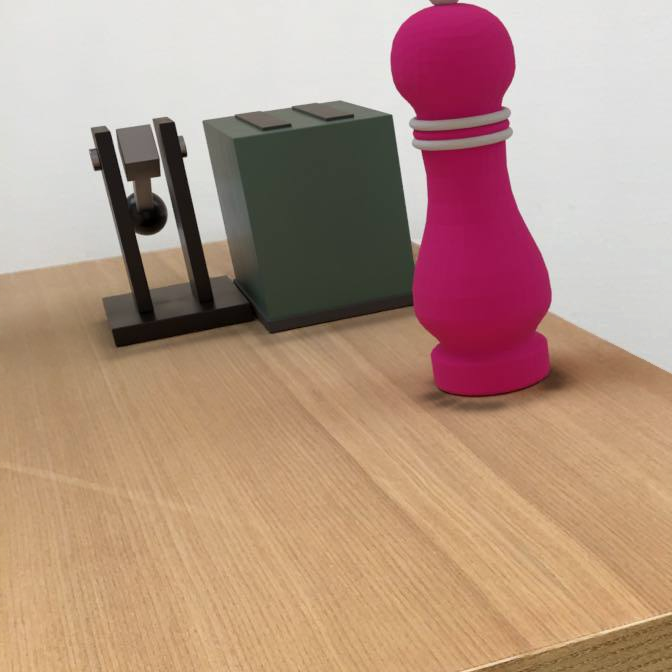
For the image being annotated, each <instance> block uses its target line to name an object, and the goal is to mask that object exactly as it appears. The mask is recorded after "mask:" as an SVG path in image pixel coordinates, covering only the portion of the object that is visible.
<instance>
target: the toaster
mask: <svg viewBox="0 0 672 672" xmlns="http://www.w3.org/2000/svg"><path fill="white" fill-rule="evenodd" d="M201 123H202V128H203V131H204V136H205V137H204V138H205V140H206V142H205V143H206V144H207V145H206V146H207V151H208V156H209V160H210V165H211V169H212V174H213V179H214V183H215V189H216V193H217V198H218V202H219V208H220V212H221V217H222V222H223V226H224V230H225V235H226V241H227V246H228V251H229V255H230V259H231V264H232V269H233V273H234V274H233V275H234V277H235V278H233V279H232V282H233V283H234V284H235V285H236V286H237V288H238V289H239V290H240V291H241V293H242V294H243V295H244V296H245V297H246V299H247V300H248V301H249V302H250V304H251V309H252V313H253V315H255V316H256V318H257V319H258V320H259V321H260V323H261V324H262V325H263V327H264V328H265V329H266V330H267V331H268V333H269V334H272V333H278V332H283V331H288V330H293V329H298V328H303V327H307V326H313V325H318V324H323V323H327V322H334V321H338V320H343V319H348V318H352V317H358V316H362V315H367V314H373V313H379V312H382V311H388V310H393V309H398V308H403V307H408V306H414V302H413V280H414V271H415V265H416V263H415V258H414V250H413V244H412V238H411V231H410V224H409V217H408V210H407V204H406V196H405V190H404V189H405V188H404V183H403V176H402V169H401V164H400V163H401V162H400V156H399V150H398V149H399V148H398V143H397V135H396V129H395V123H394V115H393V114H392V113H388V112H384V111H380V110H377V109H373V108H370V107H366V106H363V105H359V104H355V103H351V102H348V101H344V100H333V101H326V102H311V103H304V104H298V105H297V104H296V105H292V106H291V107H284V108H278V109H271V110H265V111H263V110H257V111H250V112H243V113H236V114H235V113H234V115H229V116H223V117H216V118H210V119H209V118H208V119H203V120H202V121H201Z"/></svg>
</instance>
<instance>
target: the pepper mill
mask: <svg viewBox="0 0 672 672" xmlns="http://www.w3.org/2000/svg"><path fill="white" fill-rule="evenodd" d="M428 1H429V2H430V3H431V4H432V5H431V6H429V7H428V6H427V7H424V8H422V9H420V10H418V11H417V12H415V13H413V14H411V15H410V16H409V17H408V18H407V19H405V20H404V21H403V22H402V23H401V25H400V26H399V28H398V30H397V31H396V33H395V35H394V37H393V40H392V41H391V42H392V43H391V50H390V56H389V57H390V59H389V60H390V61H389V62H390V72H391V76H392V82H393V85H394V87H395V89H396V91H397V92H398V93H399V95H400V97H402V98H403V99H404V100H405V101H406V102H407V103H408V104H409V105H410V106H411V108H412V109H413V111H414V113H415V116H414V117H413V116H412V118H410V119H409V121H408V126H409V128H411V129H412V136H413V138H412V140H411V145H412V147H413V148H414V149H417V150H419V151H420V152H421V157H422V158H421V159H422V162H423V166H424V171H425V179H426V193H427V204H426V206H427V207H426V216H425V224H424V228H423V233H422V237H421V241H420V246H419V249H418V254H417V256H416V257H417V258H416V262H415V271H414V280H413V302H414V305H413V311H414V315H415V317H416V319H417V321H418V322H419V324H420V325H421V326H422V327H423V328H424V330H426V331H427V332H428V333H429V334H430V335H431V336H432V337H434V338H435V339H436V340H437V342H439V343H438V344H436V345H435V346H434V347H433V348H432V349H431V352H430V360H431V361H430V362H431V367H432V368H431V369H432V375H433V381H434V384H435V386H436V387H437V388H439V389H440V390H441V391H444V392H446V393H449V394H453V395H460V396H492V395H499V394H505V393H510V392H515V391H519V390H522V389H525V388H529V387H531V386H532V385H535V384H537V383H539V382H541V381H542V380H543V379H544V378H546V377H547V376H548V375H549V374H550V371H551V362H550V360H551V359H550V353H549V352H550V351H549V344H548V342H549V341H548V338H547V337H546V336H545V335H544V334H543V333H541V332H539V331H537V329H538V327H539V326H540V325H541V322H542V321H543V319H544V318H545V316H547V313H548V312H549V310H550V308H551V304H552V302H553V301H552V300H553V299H552V298H553V292H552V286H551V285H552V284H551V280H550V274H549V270H548V268H547V265H546V262H545V260H544V257H543V255H542V252H541V250H540V248H539V247H538V244H537V242H536V241H535V238H534V237H533V235H532V233H531V231H530V229H529V227H528V226H527V224H526V221H525V220H524V218H523V216H522V214H521V211H520V209H519V207H518V204H517V201H516V198H515V195H514V192H513V189H512V183H511V180H510V179H511V178H510V174H509V170H508V161H507V159H508V157H507V140H508V139H510V138H511V137H512V136H513V134H514V129H513V128H512V127H511V126H510V125H511V121H510V120H509V118H510V117H511V115H512V110H511V108H509V107H507V106H503V100H504V97H505V94H506V93H507V91H508V89H509V88H510V86H511V84H512V83H513V80H514V77H515V74H516V68H517V64H516V54H515V47H514V43H513V40H512V37H511V35H510V33H509V30H508V29H507V27H506V26H505V25H504V23H503V22H502V20H501V19H500V18H499V17H498V16H497V15H495V14H494V13H493V12H491V11H489V10H488V9H486V8H485V7H481V6H479V5H476V4H472V3H467V2H459V1H460V0H428Z"/></svg>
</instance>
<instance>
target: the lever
mask: <svg viewBox="0 0 672 672" xmlns="http://www.w3.org/2000/svg"><path fill="white" fill-rule="evenodd" d="M115 135H116V142H117V143H116V144H117V149H118V152H119V155H120V160H121V164H122V168H123V171H124V175H125V179H126V182H127V183H128V182H132V190H133V192H132V193H131V194H129V195H128V196H126V197H127V201H128V205H129V209H130V213H131V217H132V221H133V225H134V230H135V234H136V235H139V236H146V237H147V236H154V235H156V234H158V233H160V232H161V231H162V230H163V229H164V228H165V226H166V224H167V222H168V218H169V212H168V208H167V204H166V203H165V201H164V199H162V197H161V196H160V195H158V194H156V193H155V192H153V188H152V179H154V178H160V177H161V176H162V173H161V172H162V171H161V159H160V158H161V157H160V153H159V149H158V147H157V143H156V140H155V136H154V133H153V129H152V125H151V124H150V123H148V124H141V125H140V124H139V125H135V126H128V127H120V128H116V129H115Z"/></svg>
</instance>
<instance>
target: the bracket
mask: <svg viewBox="0 0 672 672" xmlns="http://www.w3.org/2000/svg"><path fill="white" fill-rule="evenodd" d="M152 125H153V128H154V129H153V130H154V133H155V137H156V142H157V146H158V152H159V156H160V158H161V159H160V160H161V163H162V168H163V172H164V176H165V181H166V185H167V190H168V194H169V198H170V202H171V203H170V204H171V207H172V212H173V216H174V221H175V224H176V229H177V233H178V239H179V243H180V247H181V252H182V255H183V261H184V264H185V269H186V272H187V278H188V281H187V282H182V283H177V284H171V285H166V286H161V287H160V286H159V287H154V288H150V287H149V283H148V279H147V275H146V272H145V267H144V263H143V259H142V255H141V254H142V253H141V250H140V246H139V243H138V238H137V233H135V230H134V225H133V221H132V217H131V213H130V209H129V205H128V201H127V197H128V196H127V192H126V189H125V185H124V181H123V177H122V172H121V168H120V164H119V159H118V156H117V152H116V147H115V144H114V140H113V135H112V132H111V130H110V129H109V128H108V127H107V125H100V126H92V127H90V132H91V136H92V141H93V144H94V147H93V148H89V149H88V153H89V158H90V161H91V165H92V170H93V171H94V172H100V173H101V176H102V181H103V184H104V187H105V188H104V189H105V192H106V196H107V201H108V205H109V208H110V211H111V216H112V220H113V225H114V228H115V232H116V236H117V240H118V244H119V249H120V252H121V256H122V260H123V264H124V269H125V272H126V276H127V280H128V283H129V288H130V292H127V293H123V294H118V295H112V296H111V295H110V296H106V297H102V298H101V301H102V305H103V309H104V313H105V316H106V318H107V322H108V325H109V329H110V332H111V335H112V339H113V342H114V345H115V347H118V348H119V347H123V346H128V345H132V344H138V343H143V342H148V341H154V340H157V339H158V340H159V339H163V338H168V337H174V336H179V335H184V334H188V333H194V332H199V331H204V330H209V329H214V328H220V327H225V326H231V325H235V324H240V323H246V322H251V321H254V313H253V311H252V309H251V304H250V302H249V301H248V300H247V299H246V297H245V296H244V295H243V294H242V293H241V291H240V290H239V289H238V288H237V286H236V285H235V284H234V283H233V279H231V278H230V277H229V275H228V274H226V275H220V276H214V277H210V276H209V270H208V265H207V261H206V256H205V252H204V248H203V243H202V239H201V234H200V229H199V224H198V221H197V216H196V215H197V214H196V212H195V207H194V201H193V198H192V193H191V189H190V184H189V179H188V175H187V171H186V170H187V169H186V166H185V161H184V158H188V150H187V145H186V141H185V138H184V135H182V134H181V135H179V134H178V130H177V125H176V122H175V121H174V120H173V119H171V118H170V117H169V116H161V117H154V118H152Z"/></svg>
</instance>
